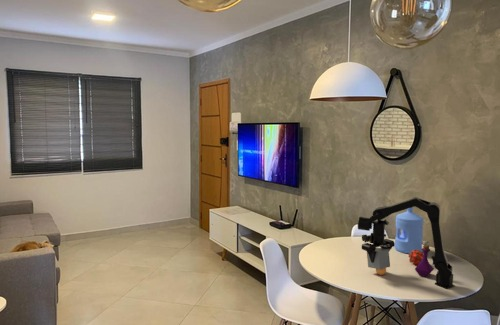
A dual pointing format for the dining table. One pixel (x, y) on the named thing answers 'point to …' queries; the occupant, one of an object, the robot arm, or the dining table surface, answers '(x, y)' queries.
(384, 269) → the ball
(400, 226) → the water jug
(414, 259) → the dragon fruit
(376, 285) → the dining table surface
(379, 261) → the matte grey cube
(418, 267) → the perfume bottle
